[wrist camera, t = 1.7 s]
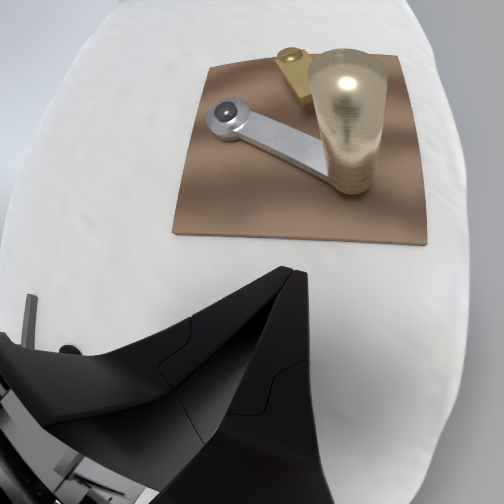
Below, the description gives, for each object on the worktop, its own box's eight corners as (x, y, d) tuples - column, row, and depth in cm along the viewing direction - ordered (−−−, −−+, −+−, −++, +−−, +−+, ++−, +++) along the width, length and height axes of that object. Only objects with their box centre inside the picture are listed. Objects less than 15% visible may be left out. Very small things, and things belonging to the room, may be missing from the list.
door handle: (9, 284, 32) (1, 379, 29) (75, 320, 26) (68, 445, 22) (25, 288, 35) (16, 379, 32) (96, 322, 29) (87, 440, 26)
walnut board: (424, 245, 19) (427, 243, 18) (176, 234, 26) (171, 232, 25) (397, 61, 22) (397, 55, 22) (212, 71, 29) (209, 67, 28)
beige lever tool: (205, 132, 26) (137, 54, 15) (230, 102, 26) (174, 18, 15) (357, 212, 20) (365, 117, 9) (382, 171, 20) (400, 62, 9)
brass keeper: (337, 110, 23) (334, 85, 19) (306, 121, 23) (300, 98, 20) (305, 66, 24) (299, 43, 21) (278, 76, 25) (270, 54, 22)
